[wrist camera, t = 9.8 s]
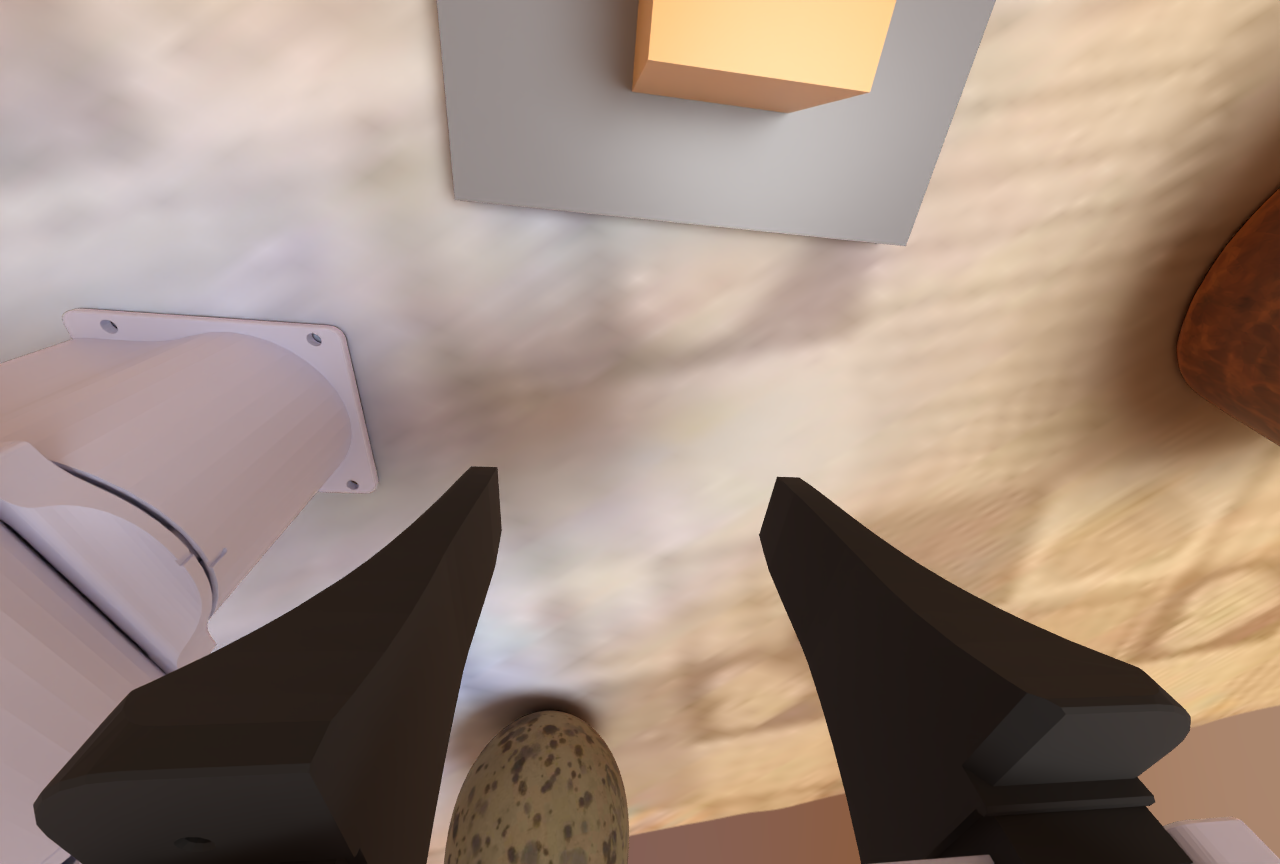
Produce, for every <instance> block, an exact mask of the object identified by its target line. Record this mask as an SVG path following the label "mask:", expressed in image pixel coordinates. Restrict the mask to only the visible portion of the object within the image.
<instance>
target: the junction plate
mask: <svg viewBox="0 0 1280 864" xmlns="http://www.w3.org/2000/svg"><path fill="white" fill-rule="evenodd" d="M995 1H996V0H896V3H895V7H894V10H893V14H892V17H891V21H890V24H889V28H888V31H887V35H886V38H885V42H884V45H883V49H882V52H881V56H880V59H879V63H878V66H877V70H876V73H875V77H874V80H873V84H872V87H871V91H870V92H869V93H866V94H862V95H858V96H854V97H850V98H846V99H842V100H838V101H834V102H830V103H827V104H823V105H819V106H815V107H811V108H807V109H803V110H799V111H795V112H792V113H783V112H776V111H769V110H761V109H754V108H747V107H740V106H732V105H725V104H718V103H710V102H703V101H696V100H689V99H681V98H674V97H667V96H659V95H652V94H645V93H638V92H632V83H633V70H634V56H635V43H636V29H637V16H638V3H639V0H437V9H438V20H439V31H440V42H441V53H442V64H443V75H444V86H445V97H446V108H447V119H448V130H449V141H450V152H451V163H452V174H453V185H454V196H455V200H462V201H472V202H482V203H491V204H501V205H511V206H520V207H530V208H540V209H550V210H559V211H569V212H579V213H589V214H598V215H608V216H618V217H627V218H637V219H647V220H657V221H666V222H676V223H686V224H696V225H705V226H715V227H725V228H734V229H744V230H754V231H764V232H773V233H783V234H793V235H803V236H812V237H822V238H832V239H841V240H851V241H861V242H871V243H880V244H890V245H900V246H906V244H907V241H908V239H909V236H910V233H911V230H912V228H913V225H914V222H915V219H916V217H917V214H918V211H919V209H920V206H921V203H922V200H923V198H924V195H925V192H926V189H927V187H928V184H929V181H930V179H931V176H932V173H933V170H934V168H935V165H936V162H937V159H938V157H939V154H940V151H941V149H942V146H943V143H944V140H945V138H946V135H947V132H948V129H949V127H950V124H951V121H952V119H953V116H954V113H955V110H956V108H957V105H958V102H959V99H960V97H961V94H962V91H963V89H964V86H965V83H966V80H967V78H968V75H969V72H970V69H971V67H972V64H973V61H974V59H975V56H976V53H977V50H978V48H979V45H980V42H981V39H982V37H983V34H984V31H985V29H986V26H987V23H988V20H989V18H990V15H991V12H992V9H993V7H994V4H995Z"/></svg>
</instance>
